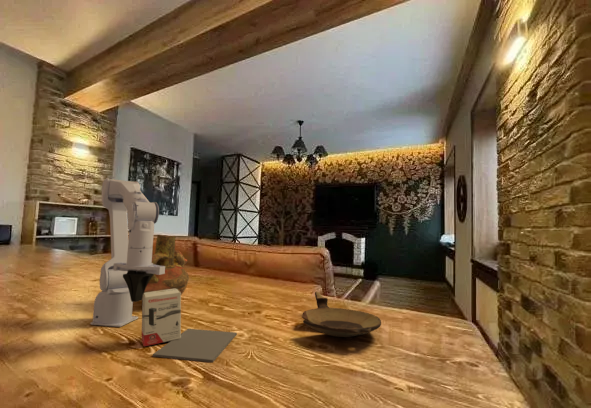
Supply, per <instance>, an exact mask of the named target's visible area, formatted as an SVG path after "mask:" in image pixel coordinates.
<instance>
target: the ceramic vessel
mask: <svg viewBox="0 0 591 408" xmlns="http://www.w3.org/2000/svg"><path fill="white" fill-rule="evenodd" d="M152 263H153V264H155V265H159V266H165V274H161V275H156V274H153V276H152V278H151V279H150V281H149V282H148V284H147V286H146V288H145V291H144V293H146V292H153V291H160V290H167V289H174V288H175V289H178V290H179V291H180V292H181V296H182V295H183V294H184V292H185V290H186V288H187V287H188V284H189V279H190V277H189V274H188V272H187V270H185V269H184V267H185V265H187V263H188V259H186V258H185V256H184V255H183V253H182V252H181V251H180V250H179V249H178V250H177V249H176V235H172V236H171V235H170V236H166V235H160V234H157V237H156V242H155V250H154V254H152ZM142 300H143V297H142ZM142 300H141V301H140V302H142Z"/></svg>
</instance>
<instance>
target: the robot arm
mask: <svg viewBox="0 0 591 408" xmlns="http://www.w3.org/2000/svg"><path fill="white" fill-rule="evenodd" d="M101 203H102V207H103V208H105V209H107V210H108V215H109V225H110V227H109V228H110V250H111V251H110V253H111V259H110V258H109V260H107V261H106V262H105V263H103V264H102V266H101V267H100V268H101V269H100V276H99V289H100V290H101V291H99V292H98V293H97V295H96V297H95V299H94V301H93V302H94V303H93V315H92V321H90V323H89V325H92V326H104V327H105V326H106V327H116V328H117V327H118V328H121V327H124V326H126V325H127V324H129V323H132V322H133V321H135V320H137V319H139V316H136V315H133V306H134V305H133V304H134V303H136V302H137V303H138V302H142V301H141V300H142V297H143V293H144V291H145V288H146V286H147V284H148V282H149V281H150V279H151V278H152V276H153V274H156V275H161V274H165V266H159V265H155V264H153V263H152V255H153V251H154V250H153V248H154V247H153V246H154V235H155V225H156V223H157V222H158V220H159V216H160V207H159V204H158V203H157V202H156V201H153V202H150V201H149V199H147V197H146V196H145V195H144V193H142V191H141V185H140V183H139V182H138V181H135V180H134V181H132V180H131V181H130V180H123V179H113V178H109V177H106V178H105V179H104V180H103V181H102V186H101Z"/></svg>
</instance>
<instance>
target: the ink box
mask: <svg viewBox="0 0 591 408" xmlns="http://www.w3.org/2000/svg"><path fill="white" fill-rule="evenodd" d="M141 302H142V304H141V305H142V307H141V308H142V309H141V310H142V311H141V343H142V346H143V347H149V346H153V345H158V344H162V343H167V342H170V341H172V340H176V339H180V338H181V332H182V331H181V330H182V324H181V323H182V320H181V319H182V313H181V312H182V303H181V302H182V295H181V292H180V291H179V290H178V289H175V288H174V289H167V290H160V291H153V292H146V293H143V300H142V301H141Z"/></svg>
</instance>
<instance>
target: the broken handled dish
mask: <svg viewBox="0 0 591 408" xmlns="http://www.w3.org/2000/svg"><path fill="white" fill-rule="evenodd" d="M314 296H315V301H316V306H317V308H312V309H308V310H304V311H303V312H302V315H301V318H302V319H303V320H302V323H303V324H305V326H308V327H309V328H311V329H313V330H315V331H317V332H319V333H322V334H324V335H327V336H332V337H339V338H341V337H342V338H344V337H345V338H349V337H350V338H351V337H355V336H361V335H365V334H369V333H371V332H373V331H376V330H377V329H379V328H380V327H381V326H382V320H381V318H380V317H378V316H377V315H374V314H372V313H368V312H366V311H365V312H364V311H360V310H353V309H347V308H339V307H338V308H337V307H329V306H328V298H327V297H323V295H322V294H321V293H320V292H319V291H317V290H316V291H315V292H314Z"/></svg>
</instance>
